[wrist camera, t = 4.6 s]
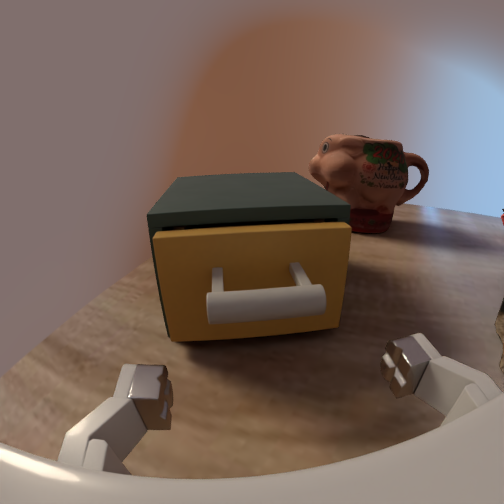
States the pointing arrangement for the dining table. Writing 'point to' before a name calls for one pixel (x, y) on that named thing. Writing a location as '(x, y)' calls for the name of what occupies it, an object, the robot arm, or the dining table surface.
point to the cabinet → (241, 203)
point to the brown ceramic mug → (367, 177)
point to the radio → (501, 331)
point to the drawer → (252, 277)
